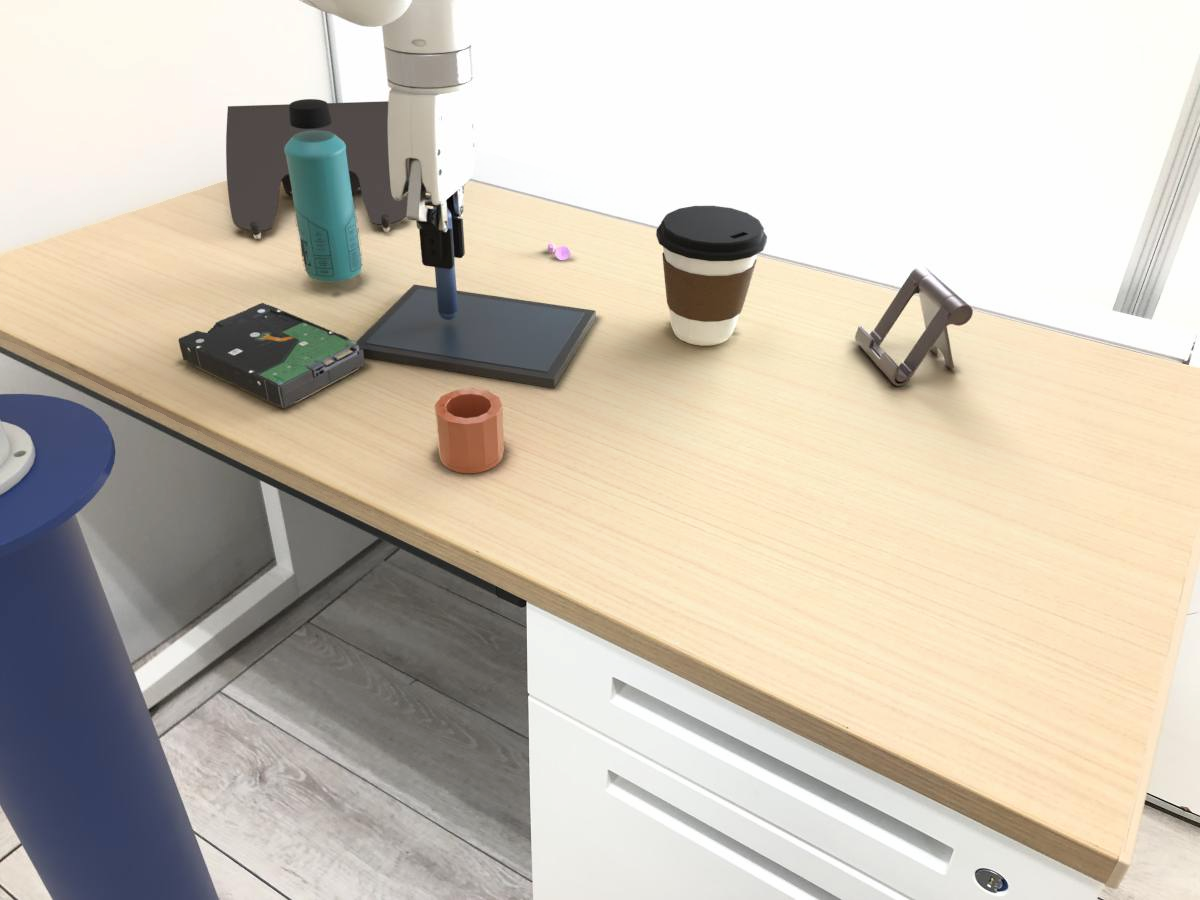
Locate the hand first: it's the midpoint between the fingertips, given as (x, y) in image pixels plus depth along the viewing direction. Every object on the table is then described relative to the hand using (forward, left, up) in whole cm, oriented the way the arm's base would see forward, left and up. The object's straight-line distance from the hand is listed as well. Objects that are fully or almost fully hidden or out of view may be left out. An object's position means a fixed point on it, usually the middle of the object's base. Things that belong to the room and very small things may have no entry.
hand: (443, 259), depth 95 cm
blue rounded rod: (0, 0, -7) cm, 7 cm away
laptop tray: (+27, +29, -8) cm, 40 cm away
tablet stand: (+8, -46, -8) cm, 48 cm away
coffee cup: (+8, -25, -8) cm, 28 cm away
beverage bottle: (+7, +17, -8) cm, 20 cm away
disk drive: (-12, +14, -8) cm, 19 cm away
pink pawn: (+22, -5, -8) cm, 24 cm away
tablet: (0, -3, -8) cm, 9 cm away
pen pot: (-20, -10, -8) cm, 24 cm away
